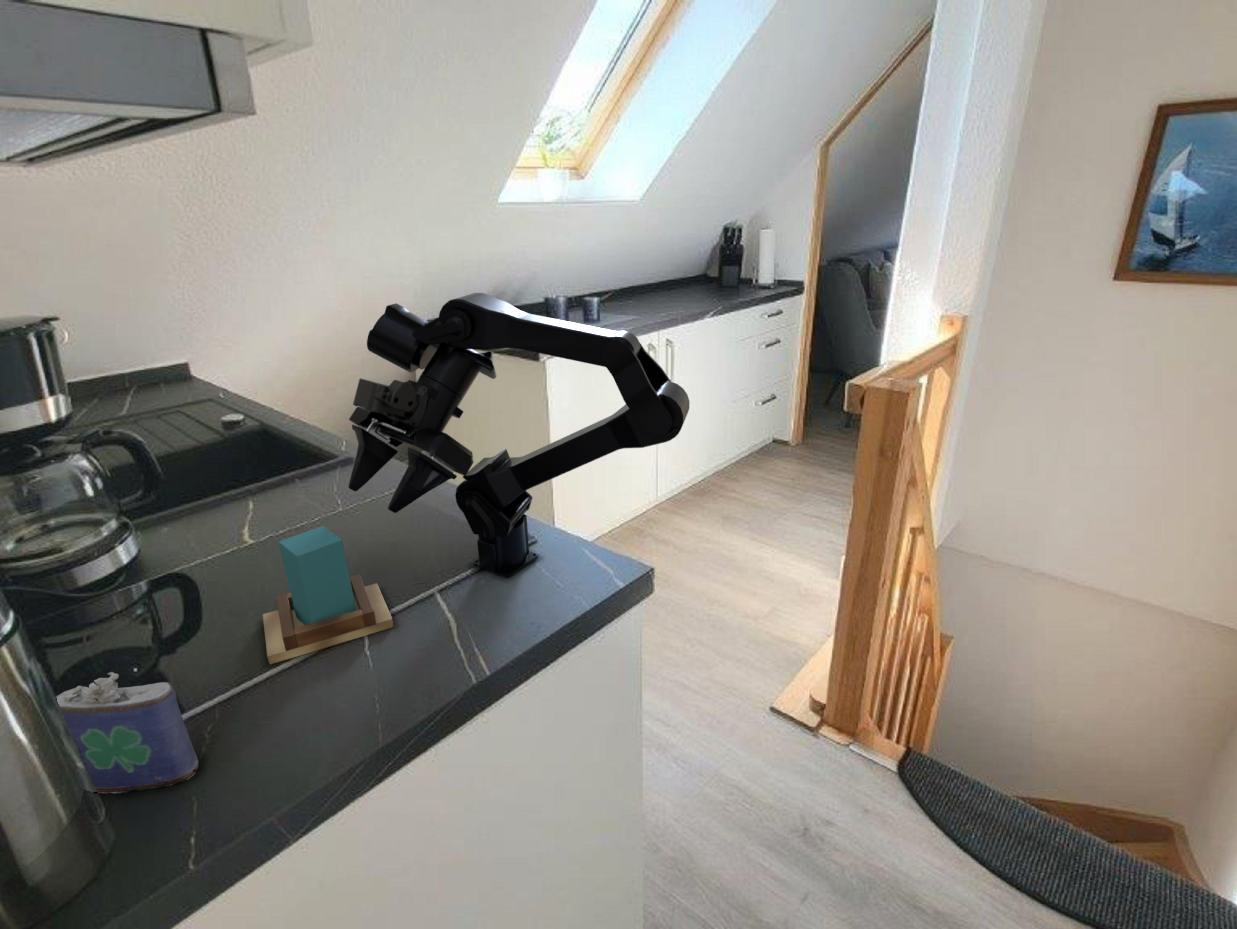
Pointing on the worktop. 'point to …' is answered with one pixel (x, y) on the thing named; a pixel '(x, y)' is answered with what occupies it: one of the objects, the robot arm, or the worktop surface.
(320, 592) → the teal rectangular block
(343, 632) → the socket pad
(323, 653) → the worktop surface
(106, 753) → the flask
